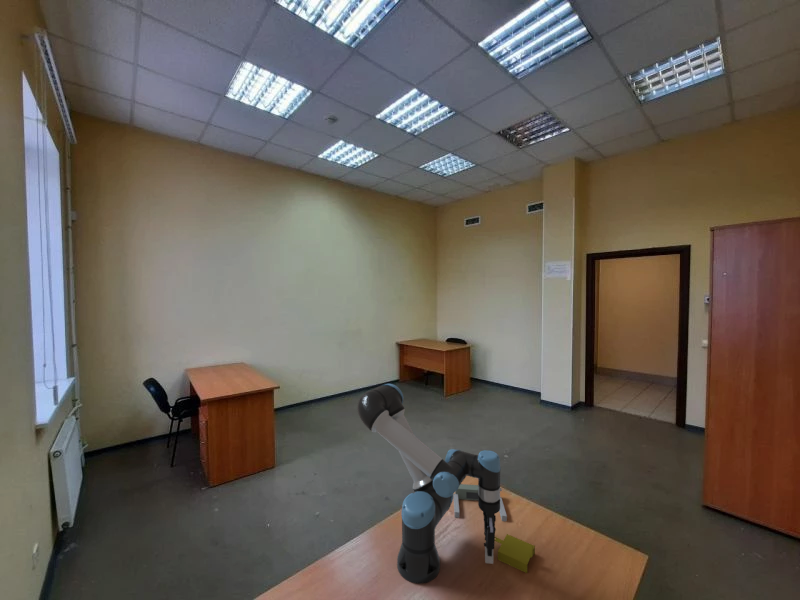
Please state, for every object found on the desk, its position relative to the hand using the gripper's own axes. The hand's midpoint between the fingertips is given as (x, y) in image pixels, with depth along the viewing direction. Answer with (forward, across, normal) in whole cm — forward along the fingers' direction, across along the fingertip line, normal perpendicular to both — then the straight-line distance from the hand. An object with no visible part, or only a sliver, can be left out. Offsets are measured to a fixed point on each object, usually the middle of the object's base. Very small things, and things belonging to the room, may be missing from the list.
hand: (489, 561), depth 118 cm
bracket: (-2, +9, -2) cm, 10 cm away
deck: (+2, +33, 0) cm, 33 cm away
